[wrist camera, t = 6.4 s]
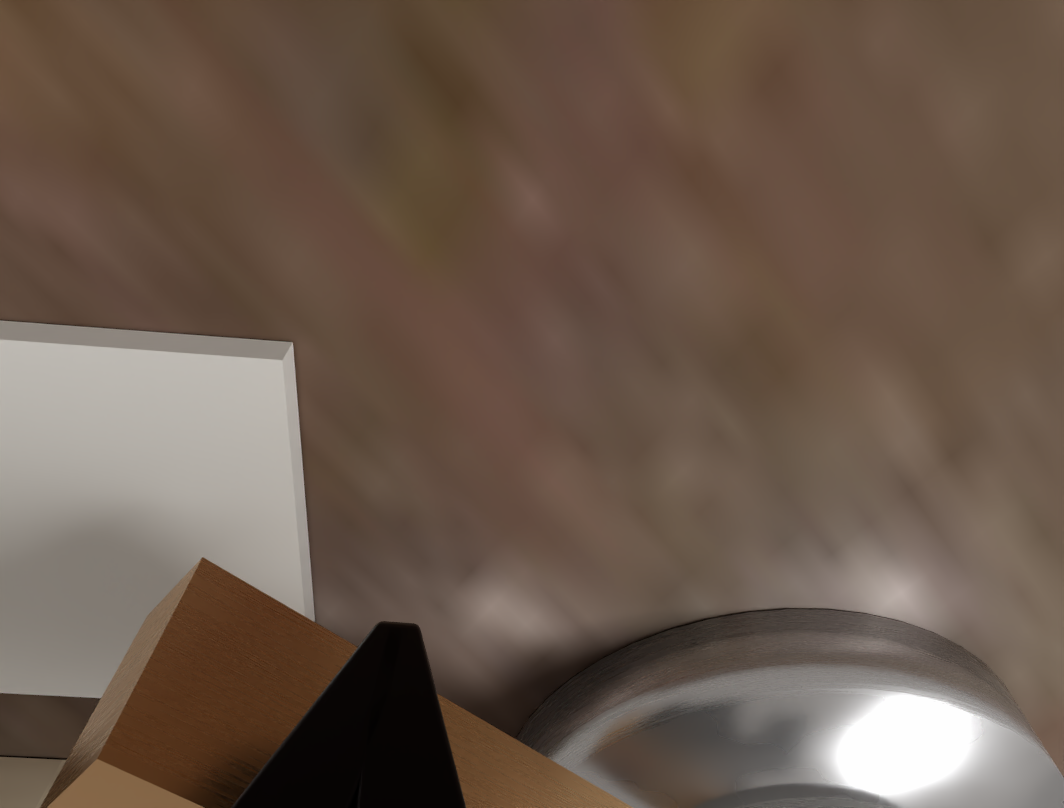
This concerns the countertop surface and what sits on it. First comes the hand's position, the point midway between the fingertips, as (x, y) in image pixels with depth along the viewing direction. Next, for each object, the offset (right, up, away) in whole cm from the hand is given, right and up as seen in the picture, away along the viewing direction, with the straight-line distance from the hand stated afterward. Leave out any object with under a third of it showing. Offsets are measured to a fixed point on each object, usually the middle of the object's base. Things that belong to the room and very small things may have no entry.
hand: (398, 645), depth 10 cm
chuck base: (+7, -6, +9) cm, 13 cm away
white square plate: (-6, +1, +4) cm, 8 cm away
